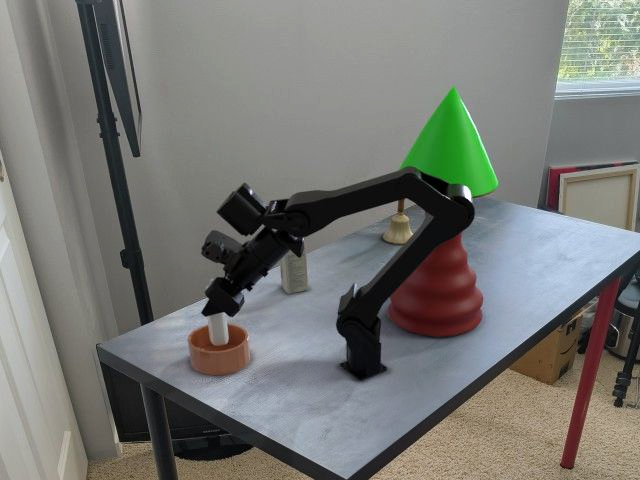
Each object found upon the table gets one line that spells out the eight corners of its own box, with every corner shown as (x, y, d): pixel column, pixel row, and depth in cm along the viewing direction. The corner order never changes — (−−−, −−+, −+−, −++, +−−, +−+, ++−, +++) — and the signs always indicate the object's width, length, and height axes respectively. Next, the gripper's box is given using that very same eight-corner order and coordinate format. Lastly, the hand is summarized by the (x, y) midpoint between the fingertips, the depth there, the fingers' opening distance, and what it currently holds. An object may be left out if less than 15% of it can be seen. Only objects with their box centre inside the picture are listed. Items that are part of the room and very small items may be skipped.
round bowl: (260, 362, 137) (259, 340, 134) (207, 381, 131) (205, 359, 128) (232, 339, 144) (229, 317, 141) (180, 356, 138) (177, 334, 136)
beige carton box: (301, 282, 165) (299, 240, 159) (308, 290, 162) (307, 247, 156) (279, 286, 163) (277, 244, 157) (286, 294, 160) (284, 251, 154)
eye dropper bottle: (202, 344, 133) (193, 285, 126) (215, 330, 138) (207, 271, 131) (223, 348, 132) (216, 288, 125) (236, 333, 137) (230, 274, 130)
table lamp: (488, 301, 158) (517, 78, 132) (473, 345, 143) (502, 102, 116) (401, 289, 163) (412, 71, 137) (376, 329, 147) (383, 92, 121)
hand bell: (421, 238, 187) (426, 176, 178) (399, 247, 182) (402, 183, 173) (398, 229, 192) (401, 168, 182) (376, 237, 187) (378, 175, 178)
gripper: (242, 199, 128) (190, 255, 136) (210, 240, 113) (154, 299, 121) (288, 244, 132) (235, 295, 140) (263, 289, 117) (205, 343, 125)
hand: (208, 307), depth 131 cm, fingers closed on eye dropper bottle, 5 cm apart
